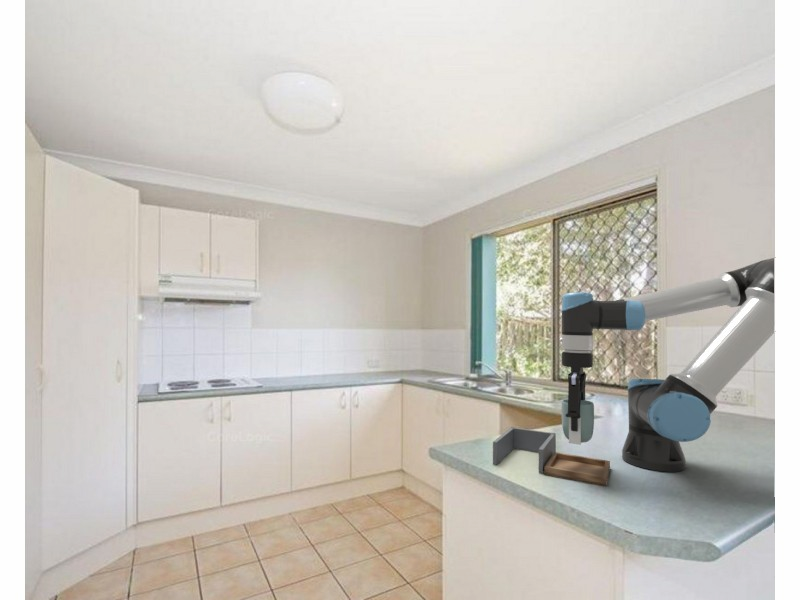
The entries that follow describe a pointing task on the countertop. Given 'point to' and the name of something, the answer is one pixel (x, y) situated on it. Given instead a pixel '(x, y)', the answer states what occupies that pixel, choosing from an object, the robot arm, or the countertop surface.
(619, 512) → the countertop surface
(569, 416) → the robot arm
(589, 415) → the cup
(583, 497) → the countertop surface
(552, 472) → the tray
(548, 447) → the bay
